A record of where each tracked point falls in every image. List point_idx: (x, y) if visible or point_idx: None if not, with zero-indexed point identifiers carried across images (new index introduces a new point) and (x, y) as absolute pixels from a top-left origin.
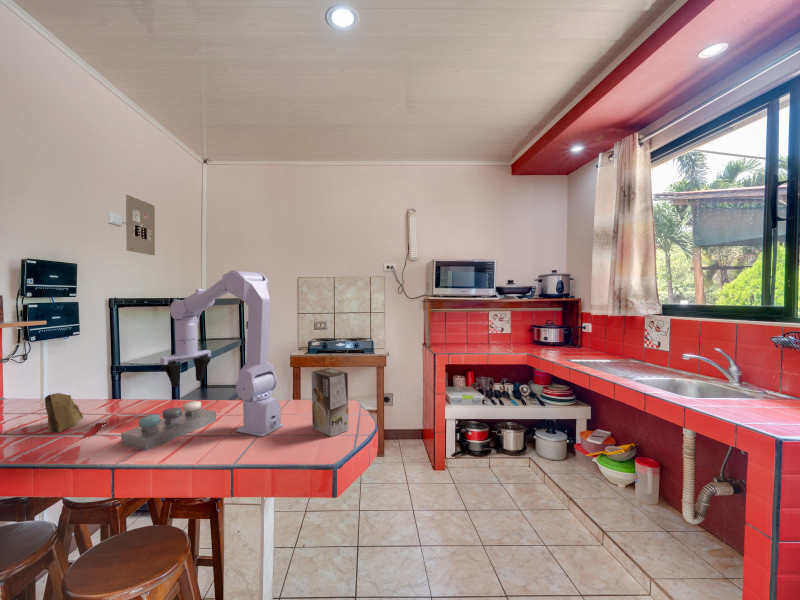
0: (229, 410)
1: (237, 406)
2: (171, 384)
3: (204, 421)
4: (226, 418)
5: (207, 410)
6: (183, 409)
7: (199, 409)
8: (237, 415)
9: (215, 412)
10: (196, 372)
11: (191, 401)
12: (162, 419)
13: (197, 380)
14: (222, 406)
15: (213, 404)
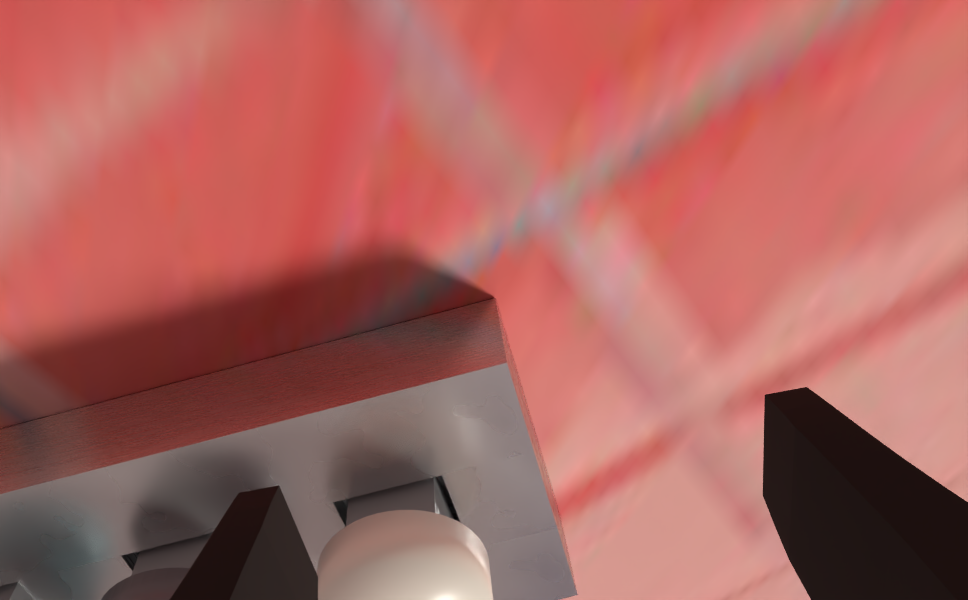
0: (806, 367)
1: (934, 318)
2: (221, 529)
3: None
4: (648, 517)
5: (543, 535)
6: (317, 568)
7: (510, 464)
8: (741, 518)
9: (569, 588)
10: (863, 519)
11: (429, 561)
12: (129, 484)
13: (767, 421)
14: (875, 194)
15: (895, 20)
